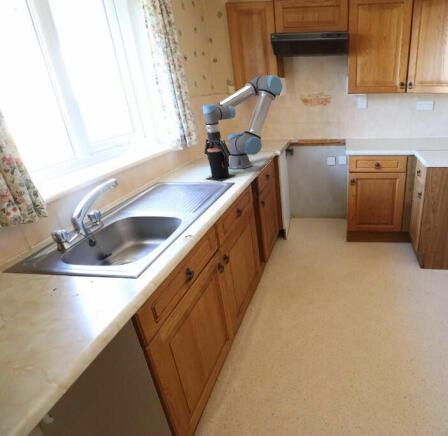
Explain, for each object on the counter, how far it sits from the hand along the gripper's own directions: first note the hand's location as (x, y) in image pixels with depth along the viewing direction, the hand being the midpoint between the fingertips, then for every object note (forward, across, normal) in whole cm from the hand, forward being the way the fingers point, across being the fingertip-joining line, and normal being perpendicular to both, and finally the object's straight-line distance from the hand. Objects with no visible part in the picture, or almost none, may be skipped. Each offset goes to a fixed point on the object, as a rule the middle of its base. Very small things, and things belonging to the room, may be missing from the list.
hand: (219, 166), depth 202 cm
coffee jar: (+7, 0, 0) cm, 7 cm away
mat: (+7, 0, 0) cm, 7 cm away
